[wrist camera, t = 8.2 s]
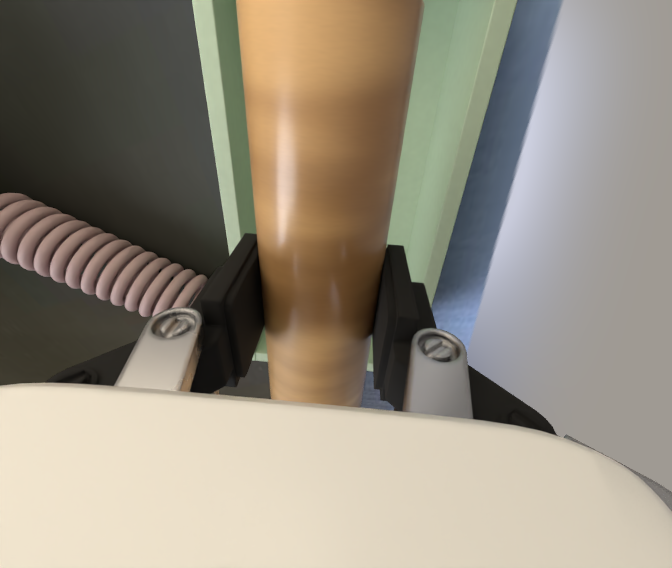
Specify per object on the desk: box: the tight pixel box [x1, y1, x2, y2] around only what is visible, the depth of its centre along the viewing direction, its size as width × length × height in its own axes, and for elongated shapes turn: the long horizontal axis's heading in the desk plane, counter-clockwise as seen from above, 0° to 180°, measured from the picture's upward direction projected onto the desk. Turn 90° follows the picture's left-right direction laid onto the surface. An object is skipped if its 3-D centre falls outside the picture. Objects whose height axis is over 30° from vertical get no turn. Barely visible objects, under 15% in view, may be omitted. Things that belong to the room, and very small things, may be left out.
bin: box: [192, 0, 518, 371], centre depth 19 cm, size 12×22×7 cm, turn 177°
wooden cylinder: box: [236, 0, 425, 408], centre depth 12 cm, size 16×4×4 cm
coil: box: [0, 193, 208, 317], centre depth 24 cm, size 5×5×18 cm
